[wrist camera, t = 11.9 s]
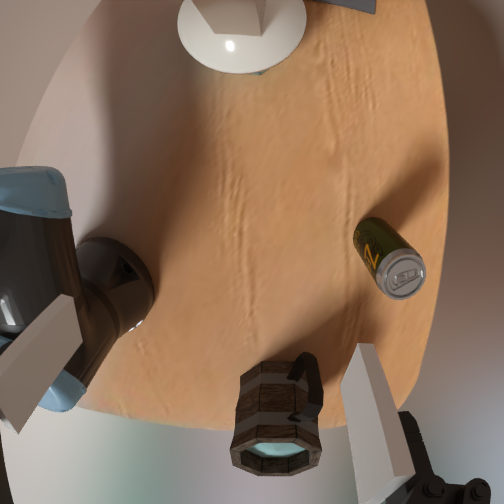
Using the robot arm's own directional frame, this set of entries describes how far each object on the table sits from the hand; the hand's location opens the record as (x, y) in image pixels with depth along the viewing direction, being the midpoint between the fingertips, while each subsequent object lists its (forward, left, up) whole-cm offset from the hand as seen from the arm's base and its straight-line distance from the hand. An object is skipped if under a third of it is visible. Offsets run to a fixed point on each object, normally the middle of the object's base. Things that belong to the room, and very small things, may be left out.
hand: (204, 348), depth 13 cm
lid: (-3, +21, -22) cm, 30 cm away
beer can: (+16, -2, -27) cm, 31 cm away
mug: (+9, -28, -27) cm, 40 cm away
